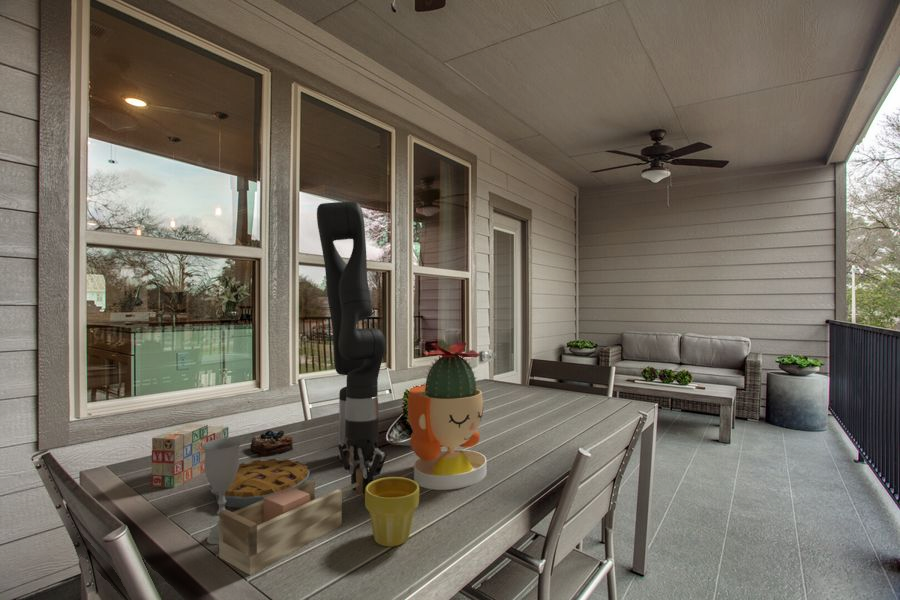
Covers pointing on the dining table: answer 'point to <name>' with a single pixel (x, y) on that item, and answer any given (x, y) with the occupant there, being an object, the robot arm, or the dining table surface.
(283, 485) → the pie
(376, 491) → the plant pot
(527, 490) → the dining table surface
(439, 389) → the potted cactus
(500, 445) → the dining table surface
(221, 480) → the chalice
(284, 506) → the pull block
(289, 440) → the pastry
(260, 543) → the light wooden box
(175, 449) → the stack of blocks
